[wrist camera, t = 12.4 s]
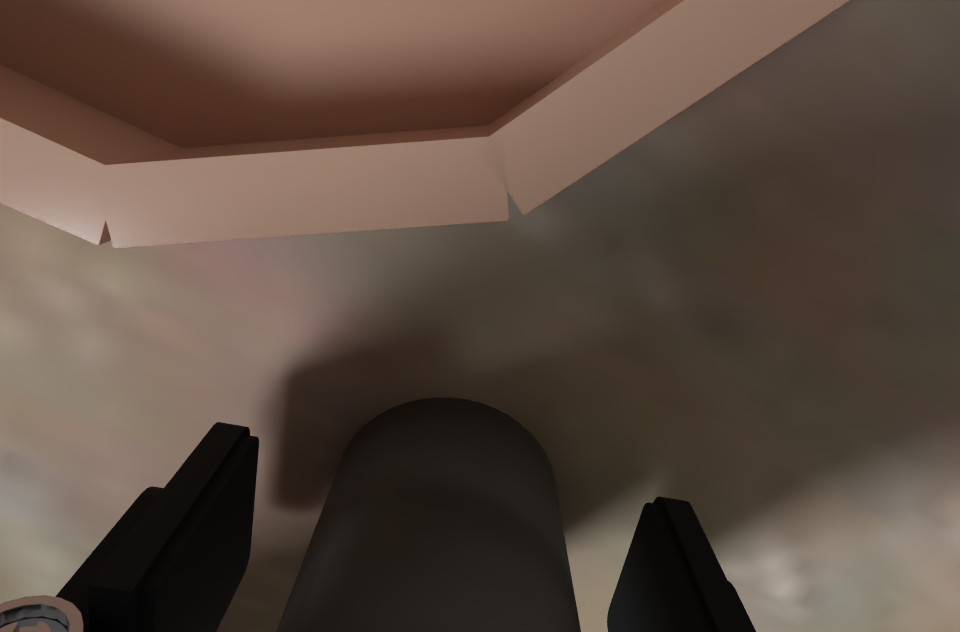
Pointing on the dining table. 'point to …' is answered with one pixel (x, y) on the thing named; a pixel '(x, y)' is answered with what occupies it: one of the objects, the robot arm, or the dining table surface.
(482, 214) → the groove dish
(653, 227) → the dining table surface
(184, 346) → the dining table surface
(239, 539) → the robot arm
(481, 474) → the bead
